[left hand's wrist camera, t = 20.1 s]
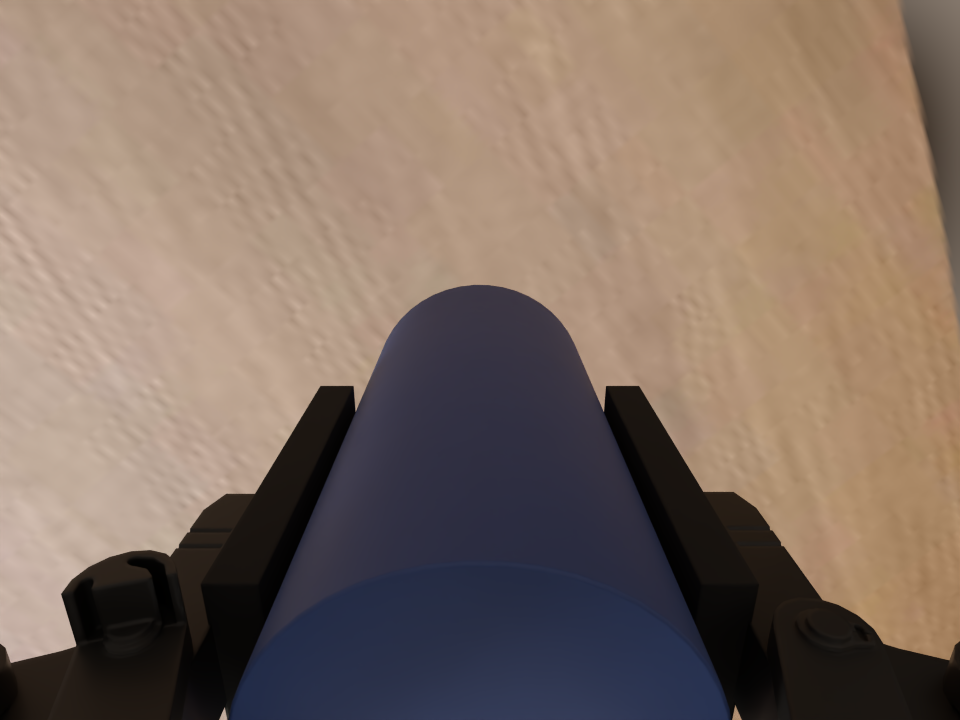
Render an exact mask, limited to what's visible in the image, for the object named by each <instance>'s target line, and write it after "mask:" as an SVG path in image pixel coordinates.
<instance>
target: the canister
mask: <svg viewBox="0 0 960 720" xmlns="http://www.w3.org/2000/svg"><path fill="white" fill-rule="evenodd" d="M228 720H731V716H730V709H729V706H728V703H727V700H726V697H725V694H724V691H723V688H722V685H721V683H720V680H719V678H718V676H717V674H716V671H715V669H714V667H713V664H712V662H711V660H710V657H709V655H708V653H707V650H706V648H705V646H704V643H703V641H702V639H701V636H700V634H699V632H698V629H697V627H696V625H695V623H694V620H693V618H692V616H691V613H690V611H689V609H688V606H687V604H686V602H685V599H684V597H683V595H682V592H681V590H680V588H679V585H678V583H677V581H676V578H675V576H674V574H673V572H672V569H671V567H670V565H669V562H668V560H667V558H666V555H665V553H664V551H663V548H662V546H661V544H660V541H659V539H658V537H657V534H656V532H655V530H654V527H653V525H652V523H651V521H650V518H649V516H648V514H647V511H646V509H645V507H644V504H643V502H642V500H641V497H640V495H639V493H638V490H637V488H636V486H635V483H634V481H633V479H632V476H631V474H630V472H629V470H628V467H627V465H626V463H625V460H624V458H623V456H622V453H621V451H620V449H619V446H618V444H617V442H616V439H615V437H614V435H613V432H612V430H611V428H610V425H609V423H608V421H607V419H606V416H605V414H604V412H603V409H602V407H601V405H600V402H599V400H598V398H597V395H596V393H595V391H594V388H593V386H592V384H591V381H590V379H589V377H588V375H587V372H586V370H585V368H584V365H583V363H582V361H581V358H580V356H579V354H578V351H577V349H576V347H575V344H574V342H573V340H572V339H571V337H570V335H569V333H568V331H567V330H566V329H565V327H564V326H563V324H562V323H561V322H560V321H559V319H558V318H557V317H556V316H555V315H554V314H553V313H552V312H551V311H549V310H548V309H547V308H546V307H544V306H543V305H542V304H541V303H539V302H537V301H536V300H534V299H532V298H530V297H529V296H526V295H524V294H522V293H519V292H517V291H514V290H510V289H507V288H503V287H497V286H490V285H470V286H461V287H457V288H453V289H448V290H445V291H443V292H440V293H438V294H435V295H433V296H431V297H429V298H427V299H425V300H424V301H422V302H420V303H419V304H418V305H416V306H415V307H414V308H412V309H411V310H410V311H409V312H408V313H407V314H406V315H405V316H404V317H403V318H402V319H401V320H400V321H399V322H398V324H397V325H396V326H395V327H394V329H393V330H392V332H391V334H390V335H389V337H388V339H387V341H386V343H385V345H384V348H383V350H382V352H381V355H380V357H379V359H378V362H377V364H376V366H375V369H374V371H373V373H372V376H371V378H370V380H369V383H368V385H367V387H366V390H365V392H364V394H363V396H362V399H361V401H360V403H359V406H358V408H357V410H356V413H355V415H354V417H353V420H352V422H351V424H350V427H349V429H348V431H347V434H346V436H345V438H344V441H343V443H342V445H341V448H340V450H339V452H338V455H337V457H336V459H335V462H334V464H333V466H332V469H331V471H330V473H329V476H328V478H327V480H326V483H325V485H324V487H323V490H322V492H321V494H320V496H319V499H318V501H317V503H316V506H315V508H314V510H313V513H312V515H311V517H310V520H309V522H308V524H307V527H306V529H305V531H304V534H303V536H302V538H301V541H300V543H299V545H298V548H297V550H296V552H295V555H294V557H293V559H292V562H291V564H290V566H289V569H288V571H287V573H286V576H285V578H284V580H283V583H282V585H281V587H280V589H279V592H278V594H277V596H276V599H275V601H274V603H273V606H272V608H271V610H270V613H269V615H268V617H267V620H266V622H265V624H264V627H263V629H262V631H261V634H260V636H259V638H258V641H257V643H256V645H255V648H254V650H253V652H252V655H251V657H250V659H249V662H248V664H247V666H246V669H245V671H244V673H243V676H242V678H241V680H240V683H239V685H238V688H237V690H236V693H235V696H234V698H233V701H232V704H231V709H230V714H229V719H228Z"/></svg>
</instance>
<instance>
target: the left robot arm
mask: <svg viewBox="0 0 960 720" xmlns="http://www.w3.org/2000/svg"><path fill="white" fill-rule="evenodd" d="M355 413H356V412H355V399H354V387H353V386H320V388H319V389H318V391H317V393H316V394H315V396H314V398H313V399H312V401H311V403H310V404H309V406H308V408H307V409H306V411H305V413H304V414H303V416H302V417H301V419H300V421H299V422H298V424H297V426H296V427H295V429H294V431H293V432H292V434H291V436H290V437H289V439H288V441H287V442H286V444H285V445H284V447H283V449H282V450H281V452H280V454H279V455H278V457H277V459H276V460H275V462H274V464H273V465H272V467H271V469H270V470H269V472H268V473H267V475H266V477H265V478H264V480H263V482H262V483H261V485H260V487H259V488H258V490H257V492H256V493H255V494H225V495H224V496H223V497H221V498H220V499H218V500H217V501H216V502H214V503H213V504H211V505H210V506H209V507H207V508H206V509H204V510H203V512H202V513H201V515H200V516H199V517H198V519H197V520H196V522H195V523H194V524H193V526H192V527H191V529H190V533H187V534H186V536H185V537H184V538H183V540H182V541H181V542H180V544H179V548H176V549H175V551H174V552H173V554H172V555H171V556H170V557H169V556H168V555H167V554H165V553H161V552H156V551H152V550H146V551H131V552H127V553H123V554H120V555H116V556H112V557H109V558H107V559H105V560H103V561H101V562H99V563H96V564H94V565H92V566H90V567H88V568H87V569H86V570H84V571H83V572H82V573H80V574H79V575H78V576H76V577H75V578H74V579H72V580H71V582H70V583H69V584H68V586H67V587H66V588H65V590H64V591H63V592H62V594H61V595H62V598H63V602H64V605H65V608H66V612H67V615H68V618H69V621H70V625H71V628H72V631H73V635H74V638H75V641H76V647H73V648H70V649H67V650H64V651H60V652H56V653H52V654H47V655H43V656H39V657H35V658H30V659H26V660H22V661H18V662H13V663H11V662H10V660H9V657H8V654H7V651H6V648H5V647H4V646H2V645H1V644H0V720H219V719H220V716H221V714H222V712H223V710H224V707H225V710H226V715H227V720H228V719H229V714H230V709H231V704H232V701H233V698H234V696H235V693H236V690H237V688H238V685H239V683H240V680H241V678H242V676H243V673H244V671H245V669H246V666H247V664H248V662H249V659H250V657H251V655H252V652H253V650H254V648H255V645H256V643H257V641H258V638H259V636H260V634H261V631H262V629H263V627H264V624H265V622H266V620H267V617H268V615H269V613H270V610H271V608H272V606H273V603H274V601H275V599H276V596H277V594H278V592H279V589H280V587H281V585H282V583H283V580H284V578H285V576H286V573H287V571H288V569H289V566H290V564H291V562H292V559H293V557H294V555H295V552H296V550H297V548H298V545H299V543H300V541H301V538H302V536H303V534H304V531H305V529H306V527H307V524H308V522H309V520H310V517H311V515H312V513H313V510H314V508H315V506H316V503H317V501H318V499H319V496H320V494H321V492H322V490H323V487H324V485H325V483H326V480H327V478H328V476H329V473H330V471H331V469H332V466H333V464H334V462H335V459H336V457H337V455H338V452H339V450H340V448H341V445H342V443H343V441H344V438H345V436H346V434H347V431H348V429H349V427H350V424H351V422H352V420H353V417H354V415H355ZM604 414H605V416H606V419H607V421H608V423H609V425H610V428H611V430H612V432H613V435H614V437H615V439H616V442H617V444H618V446H619V449H620V451H621V453H622V456H623V458H624V460H625V463H626V465H627V467H628V470H629V472H630V474H631V476H632V479H633V481H634V483H635V486H636V488H637V490H638V493H639V495H640V497H641V500H642V502H643V504H644V507H645V509H646V511H647V514H648V516H649V518H650V521H651V523H652V525H653V527H654V530H655V532H656V534H657V537H658V539H659V541H660V544H661V546H662V548H663V551H664V553H665V555H666V558H667V560H668V562H669V565H670V567H671V569H672V572H673V574H674V576H675V578H676V581H677V583H678V585H679V588H680V590H681V592H682V595H683V597H684V599H685V602H686V604H687V606H688V609H689V611H690V613H691V616H692V618H693V620H694V623H695V625H696V627H697V629H698V632H699V634H700V636H701V639H702V641H703V643H704V646H705V648H706V650H707V653H708V655H709V657H710V660H711V662H712V664H713V667H714V669H715V671H716V674H717V676H718V678H719V680H720V683H721V685H722V688H723V691H724V694H725V697H726V700H727V703H728V706H729V709H730V716H731V720H732V718H733V713H734V708H735V705H736V707H737V710H738V712H739V714H740V716H741V719H742V720H960V642H958V643H957V644H956V645H955V647H954V650H953V652H952V655H951V658H950V661H949V660H945V659H941V658H937V657H932V656H928V655H924V654H919V653H915V652H911V651H907V650H902V649H898V648H895V647H892V646H888V645H885V644H883V642H882V641H881V639H880V638H879V636H878V635H877V633H876V632H875V630H874V629H873V628H872V627H871V626H870V625H868V624H867V623H866V622H865V621H864V620H863V619H861V618H860V617H859V616H858V615H856V614H854V613H852V612H850V611H849V610H847V609H845V608H843V607H841V606H839V605H837V604H833V603H830V602H827V601H823V600H822V599H821V597H820V596H819V595H818V593H817V592H816V590H815V589H814V588H813V586H812V585H811V583H810V582H809V581H808V579H807V578H806V577H805V575H804V574H803V572H802V571H801V570H800V568H799V567H798V565H797V564H796V563H795V561H794V560H793V558H792V557H791V556H790V554H789V553H788V552H787V550H786V549H785V547H784V546H781V542H780V540H779V539H778V538H777V536H776V535H775V533H774V532H773V531H772V530H770V526H769V525H768V524H767V522H766V521H765V520H764V518H763V517H762V515H761V514H760V513H759V511H758V510H757V508H755V507H754V506H753V505H751V504H750V503H748V502H747V501H746V500H744V499H743V498H741V497H740V496H739V495H737V494H736V493H734V492H703V491H702V489H701V487H700V486H699V484H698V482H697V481H696V479H695V477H694V476H693V474H692V473H691V471H690V469H689V468H688V466H687V464H686V463H685V461H684V459H683V458H682V456H681V454H680V453H679V451H678V449H677V448H676V446H675V445H674V443H673V441H672V440H671V438H670V436H669V435H668V433H667V431H666V430H665V428H664V426H663V425H662V423H661V421H660V420H659V418H658V417H657V415H656V413H655V412H654V410H653V408H652V407H651V405H650V403H649V402H648V400H647V398H646V397H645V395H644V393H643V392H642V390H641V388H640V387H639V386H606V394H605V407H604Z"/></svg>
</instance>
